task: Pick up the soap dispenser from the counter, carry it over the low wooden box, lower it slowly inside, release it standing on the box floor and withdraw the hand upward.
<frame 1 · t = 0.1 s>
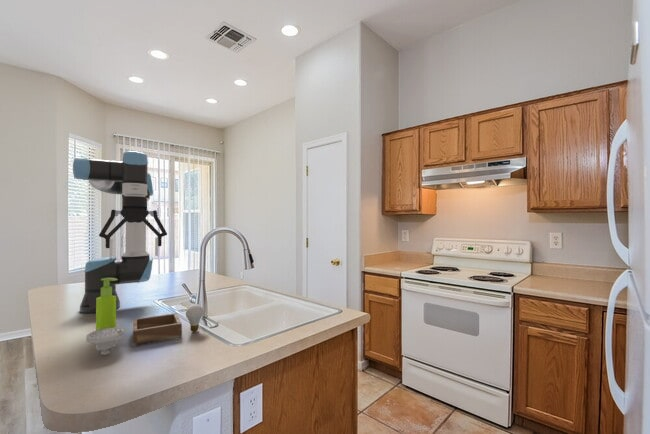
hand: (134, 256, 110), 28 cm above the worktop, fingers open, 13 cm apart
light bulb: (194, 332, 114), on the worktop
showerhead: (106, 354, 96), on the worktop
soap dispenser: (107, 334, 112), on the worktop
wooden box: (156, 335, 111), on the worktop
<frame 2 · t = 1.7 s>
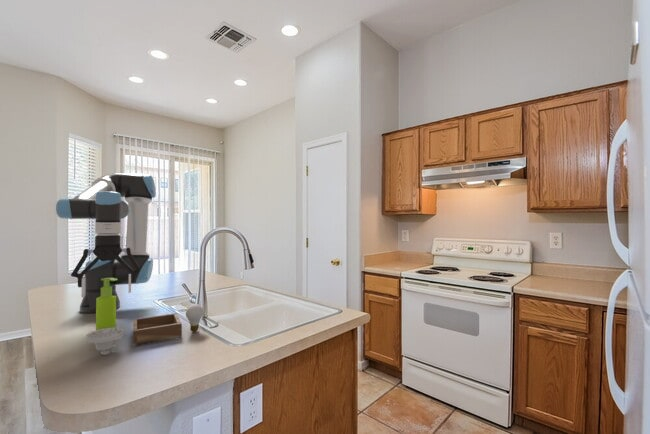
hand: (107, 294, 112), 14 cm above the worktop, fingers open, 13 cm apart
nothing on the worktop moved.
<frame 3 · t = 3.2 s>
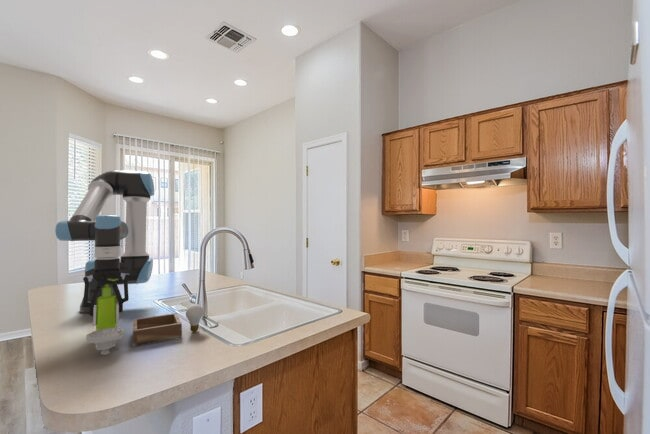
hand: (106, 322, 112), 4 cm above the worktop, fingers closed on soap dispenser, 6 cm apart
soap dispenser: (107, 334, 112), on the worktop, touching gripper
everything else where it was.
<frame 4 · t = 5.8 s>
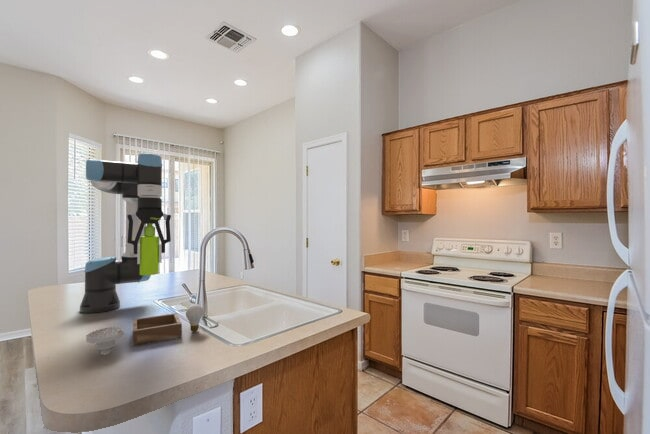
hand: (149, 262, 111), 26 cm above the worktop, fingers closed on soap dispenser, 6 cm apart
soap dispenser: (150, 274, 111), point 21 cm above the worktop, touching gripper
everything else where it was.
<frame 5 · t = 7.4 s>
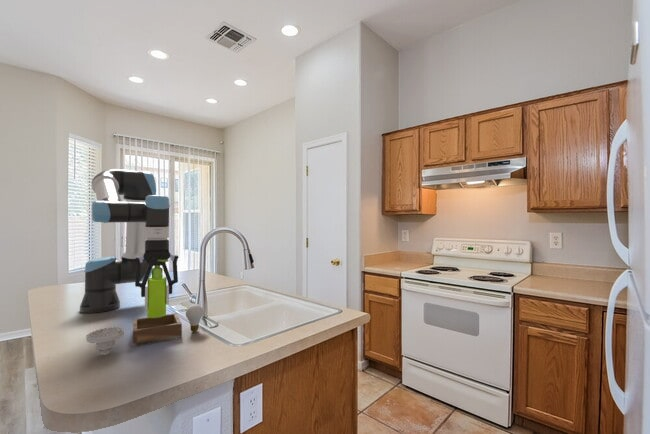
hand: (156, 304, 111), 11 cm above the worktop, fingers closed on soap dispenser, 6 cm apart
soap dispenser: (157, 316, 111), point 7 cm above the worktop, touching gripper
everything else where it was.
when the fingers open (6 cm above the worktop, at t = 8.7 s): soap dispenser drops 1 cm, resting on wooden box.
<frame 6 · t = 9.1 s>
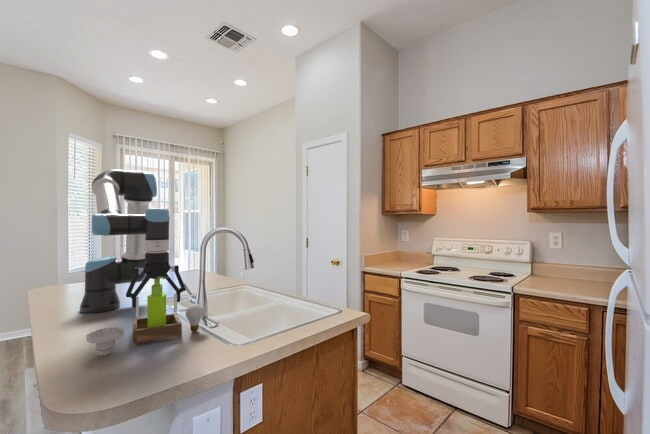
hand: (156, 313, 111), 8 cm above the worktop, fingers open, 11 cm apart
soap dispenser: (157, 332, 111), point 1 cm above the worktop, touching wooden box
everything else where it was.
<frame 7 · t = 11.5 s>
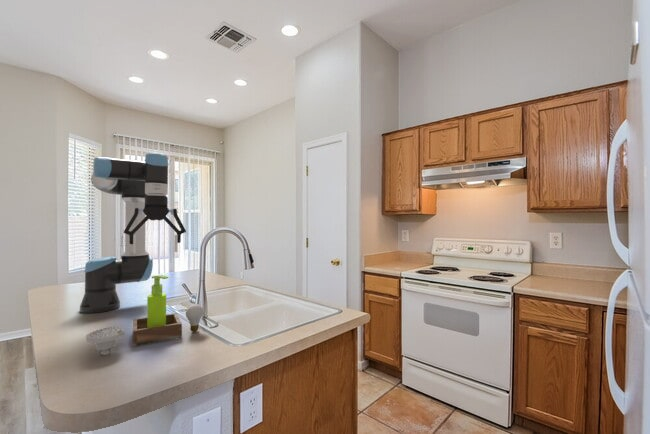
hand: (155, 252, 117), 29 cm above the worktop, fingers open, 13 cm apart
nothing on the worktop moved.
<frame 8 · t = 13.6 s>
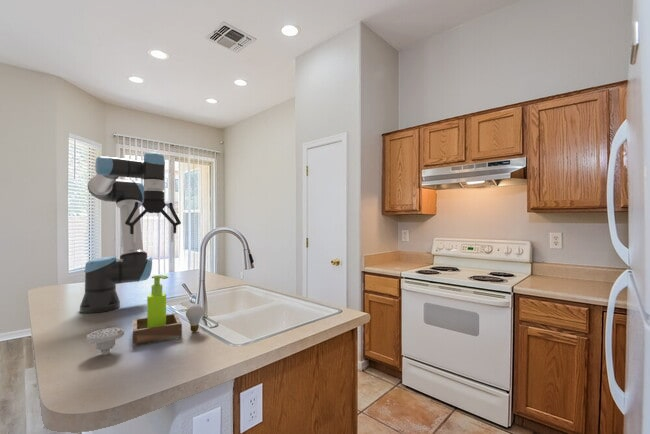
hand: (153, 242, 130), 32 cm above the worktop, fingers open, 13 cm apart
nothing on the worktop moved.
at the end: soap dispenser inside the target area on the wooden box (0.4 cm from its centre), point 0.8 cm above the wooden box's base; soap dispenser tilted 0°; the gripper is holding nothing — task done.
